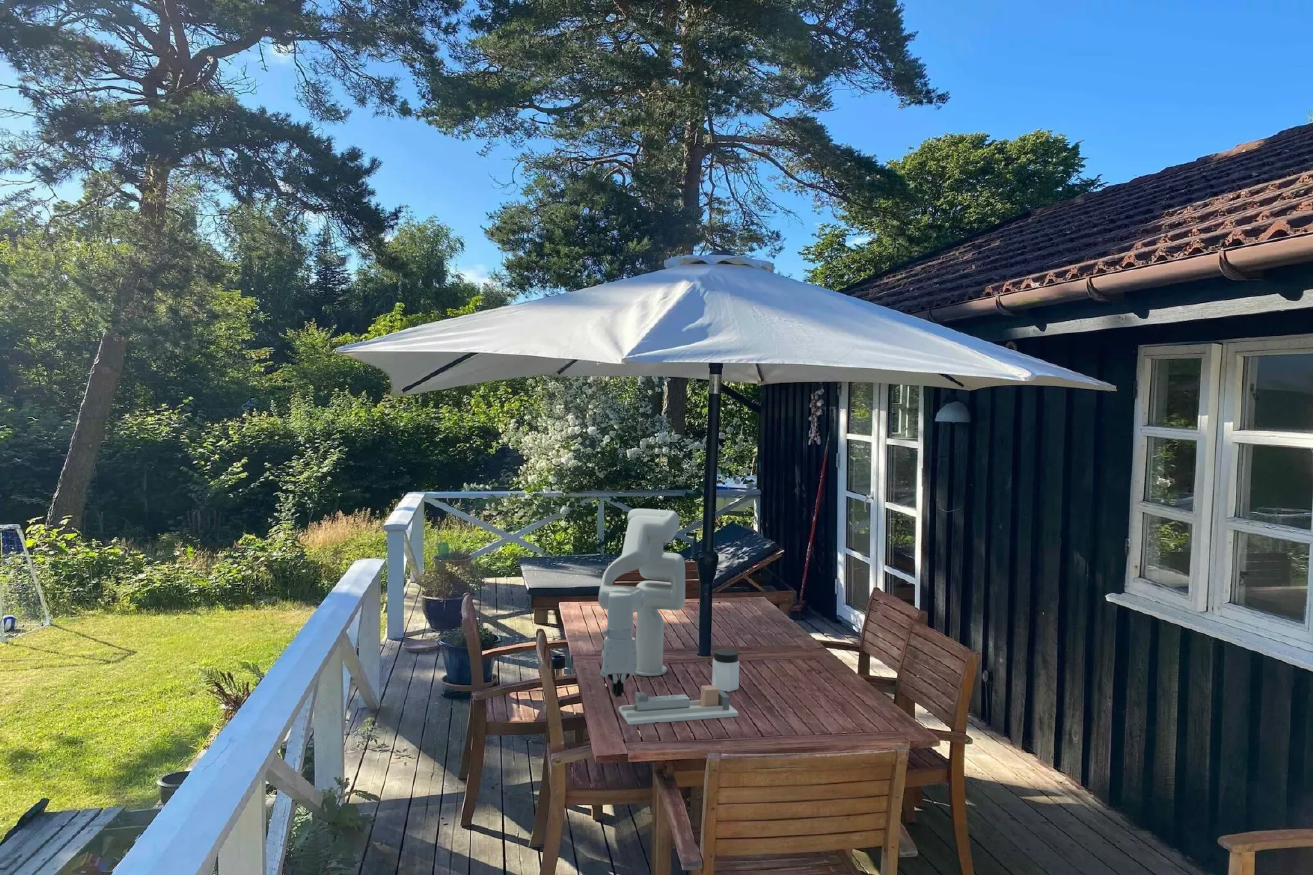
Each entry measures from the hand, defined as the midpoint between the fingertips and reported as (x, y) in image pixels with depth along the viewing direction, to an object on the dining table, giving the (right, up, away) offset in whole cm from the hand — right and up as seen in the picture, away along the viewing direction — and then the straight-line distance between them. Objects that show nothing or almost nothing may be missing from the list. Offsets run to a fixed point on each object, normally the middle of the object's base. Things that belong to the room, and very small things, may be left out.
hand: (617, 695), depth 253 cm
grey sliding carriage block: (+13, -6, +5) cm, 15 cm away
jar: (+34, -7, +32) cm, 47 cm away
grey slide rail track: (+18, -7, +6) cm, 20 cm away
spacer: (+28, -6, +9) cm, 30 cm away
